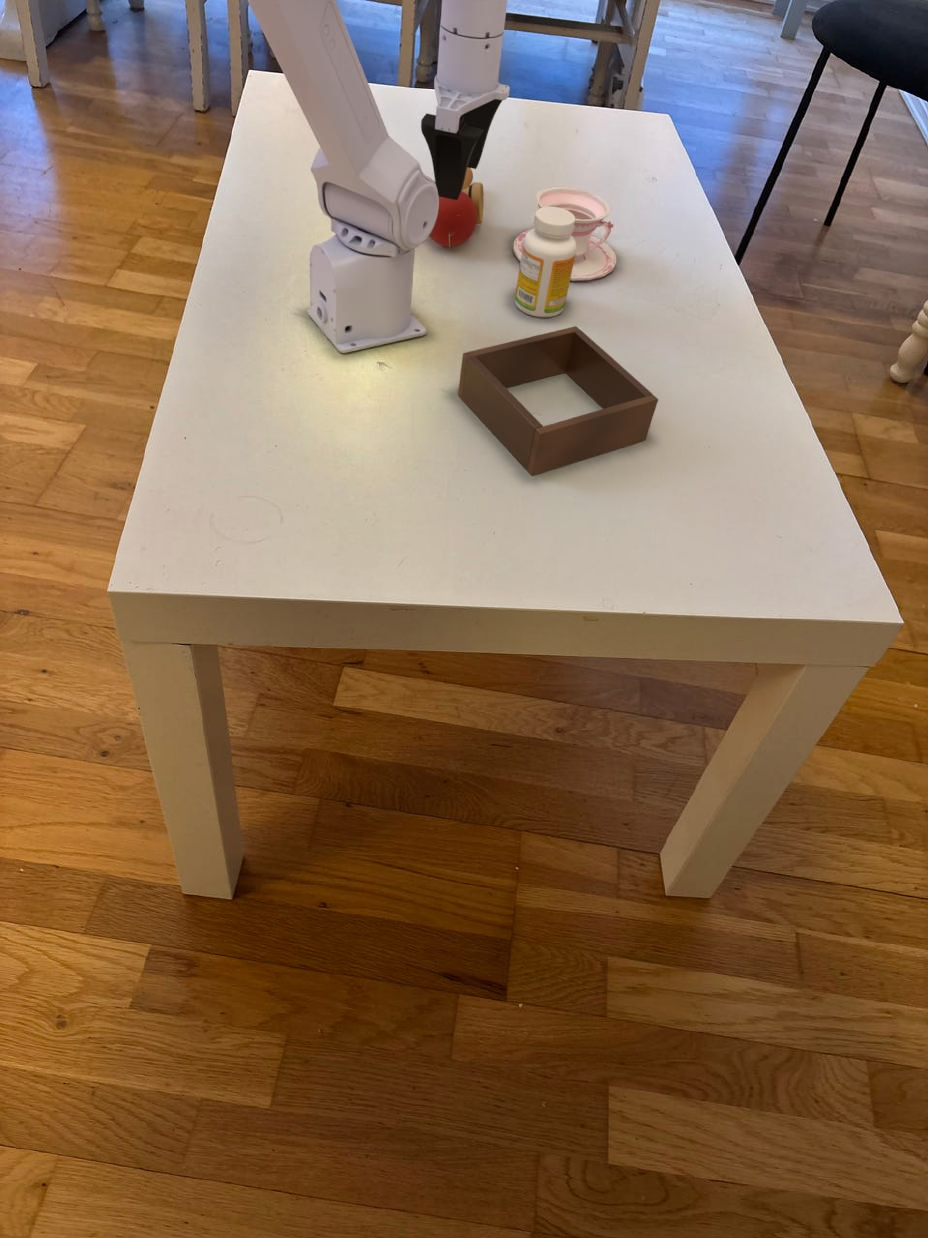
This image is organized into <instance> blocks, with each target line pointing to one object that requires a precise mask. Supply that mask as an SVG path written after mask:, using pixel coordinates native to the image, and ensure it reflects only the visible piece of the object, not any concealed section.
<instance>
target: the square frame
mask: <svg viewBox="0 0 928 1238" xmlns="http://www.w3.org/2000/svg"><path fill="white" fill-rule="evenodd" d="M564 373H565V374H566V375H567V376H568V377H569V378H570V379H572V381H574V382H575V383H576V385H578V386H579V387H580V388H581V389H582V390H583V391H584V392H585V394H588V396H589V397H590V398H591V399H593V401H595V402H596V404H598V405H599V406H600V407H601V409H598V410H595V411H592V412H587V413H585V414H582V415H577V416H575V417H571V418H568V419H564V420H560V421H557V422H554V423H550V424H547V425H543V424H541V423H542V422H540V421H539V420H538V419H537V418H536V417H535V416H534V415H533V414H532V413H531V412H530V411H529V410H528V409H527V408H526V407H525V406H524V404H522V403H521V402H520V401H519V400H518V399H517V398H516V396H514V394H512V392H511V391H509V388H511V387H515V386H519V385H523V384H526V383H531V382H535V381H538V380H541V379H545V378H550V377H553V376H556V375H557V376H558V375H560V374H564ZM457 396H458V397H459V398H460V399H461V400H462V402H463V403H464V404H465V405H466V407H468V408H469V409H470V411H472V413H473V414H474V415H475V416H476V417H477V418H478V419H479V420H480V421H481V423H482V424H483V425H484V426H485V427H486V428H487V429H488V430H489V431H490V432H491V433H492V434H493V435H494V437H495V438H496V439H497V440H498V441H499V442H500V443H501V444H502V446H504V447H505V448H506V450H507V451H508V452H509V453H510V454H511V455H512V457H514V458H515V459H516V460H517V462H518V463H519V464H520V465H521V466H522V467H523V468H524V469H525V470H526V471H527V472H528V474H530V476H536V475H539V474H542V473H545V472H548V471H552V470H556V469H559V468H561V467H564V466H568V465H571V464H575V463H578V462H580V461H584V460H587V459H590V458H593V457H596V456H597V457H598V456H600V455H603V454H605V453H606V454H607V453H609V452H612V451H613V452H614V451H616V450H618V449H622V448H625V447H628V446H632V445H635V444H638V443H641V442H644V441H646V439H647V436H648V433H649V431H650V427H651V424H652V421H653V418H654V414H655V411H656V409H657V405H658V402H659V398H658V397H657V396H655V394H653V393H652V392H651V390H649V389H648V388H647V387H646V386H644V384H642V383H641V382H640V381H639V380H638V379H636V377H634V376H633V375H632V374H631V373H630V372H629V371H627V369H625V368H624V367H623V366H622V365H621V364H620V363H618V362H617V360H615V359H614V358H613V357H612V356H610V354H609V353H607V352H606V351H605V350H604V349H603V348H602V347H601V346H599V345H598V344H597V343H596V342H595V341H594V340H592V338H590V336H588V335H587V334H586V333H585V332H584V331H583V330H581V329H580V328H579V327H578V326H576V325H574V326H571V327H566V328H562V329H558V330H555V331H550V332H546V333H542V334H537V335H533V336H529V337H524V338H520V339H516V340H513V341H507V342H505V343H504V342H503V343H500V344H496V345H491V346H488V347H483V348H479V349H475V350H471V351H470V350H469V351H466V352H463V353H462V358H461V365H460V375H459V382H458V391H457Z"/></svg>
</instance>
